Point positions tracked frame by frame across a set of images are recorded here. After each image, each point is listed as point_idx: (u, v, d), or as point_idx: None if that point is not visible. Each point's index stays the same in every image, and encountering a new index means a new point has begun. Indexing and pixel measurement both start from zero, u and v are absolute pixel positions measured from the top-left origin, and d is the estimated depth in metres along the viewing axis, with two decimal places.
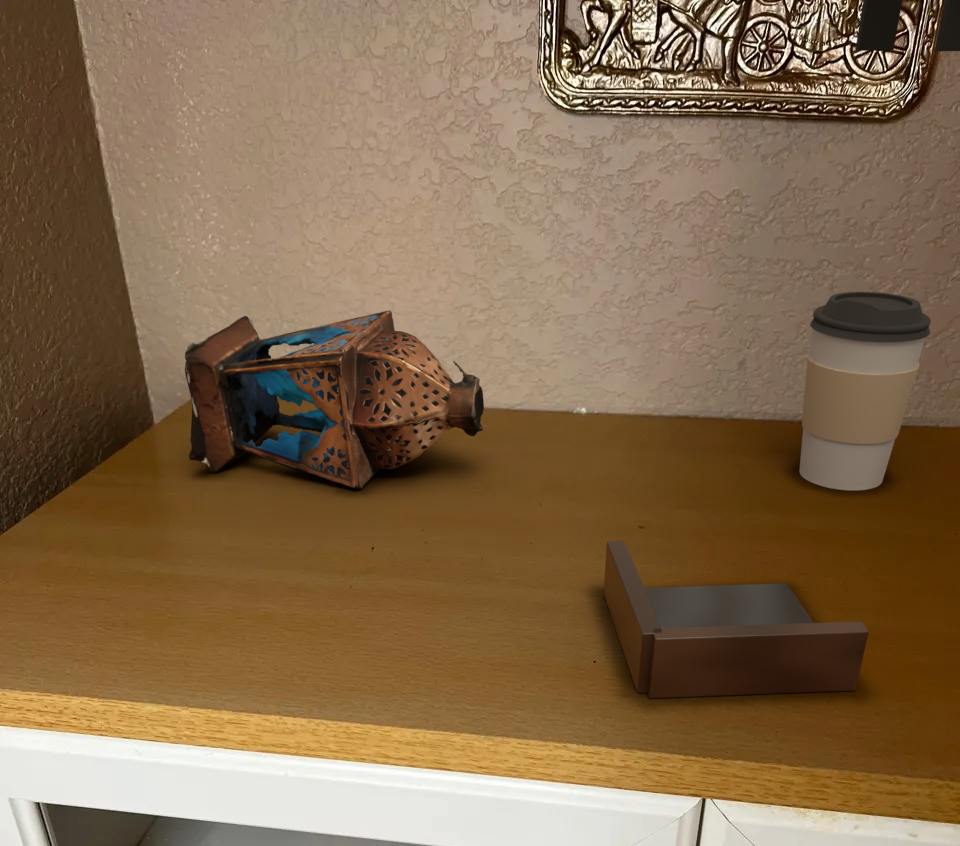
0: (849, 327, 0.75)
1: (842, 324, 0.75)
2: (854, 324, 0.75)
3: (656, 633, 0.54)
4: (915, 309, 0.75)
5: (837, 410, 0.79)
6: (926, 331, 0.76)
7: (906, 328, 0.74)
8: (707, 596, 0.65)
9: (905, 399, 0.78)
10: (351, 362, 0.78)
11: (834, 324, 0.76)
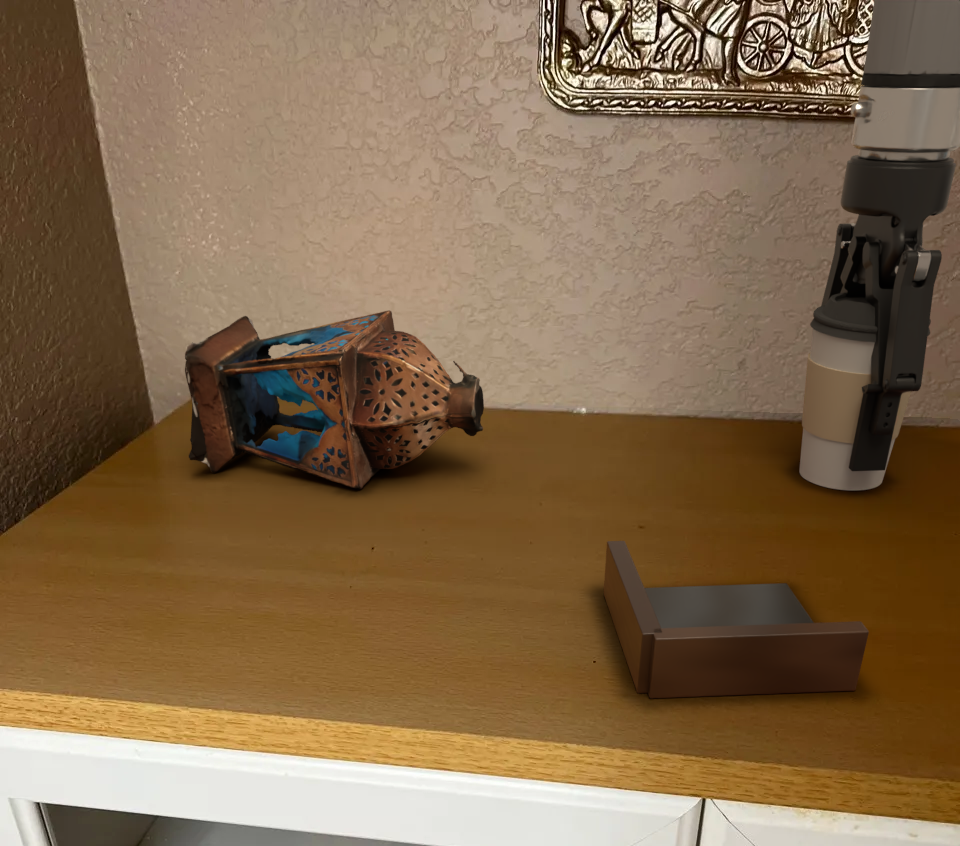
0: (849, 327, 0.75)
1: (842, 324, 0.75)
2: (854, 324, 0.75)
3: (656, 633, 0.54)
4: None
5: (837, 410, 0.79)
6: None
7: None
8: (707, 596, 0.65)
9: (905, 399, 0.78)
10: (351, 362, 0.78)
11: (834, 324, 0.76)
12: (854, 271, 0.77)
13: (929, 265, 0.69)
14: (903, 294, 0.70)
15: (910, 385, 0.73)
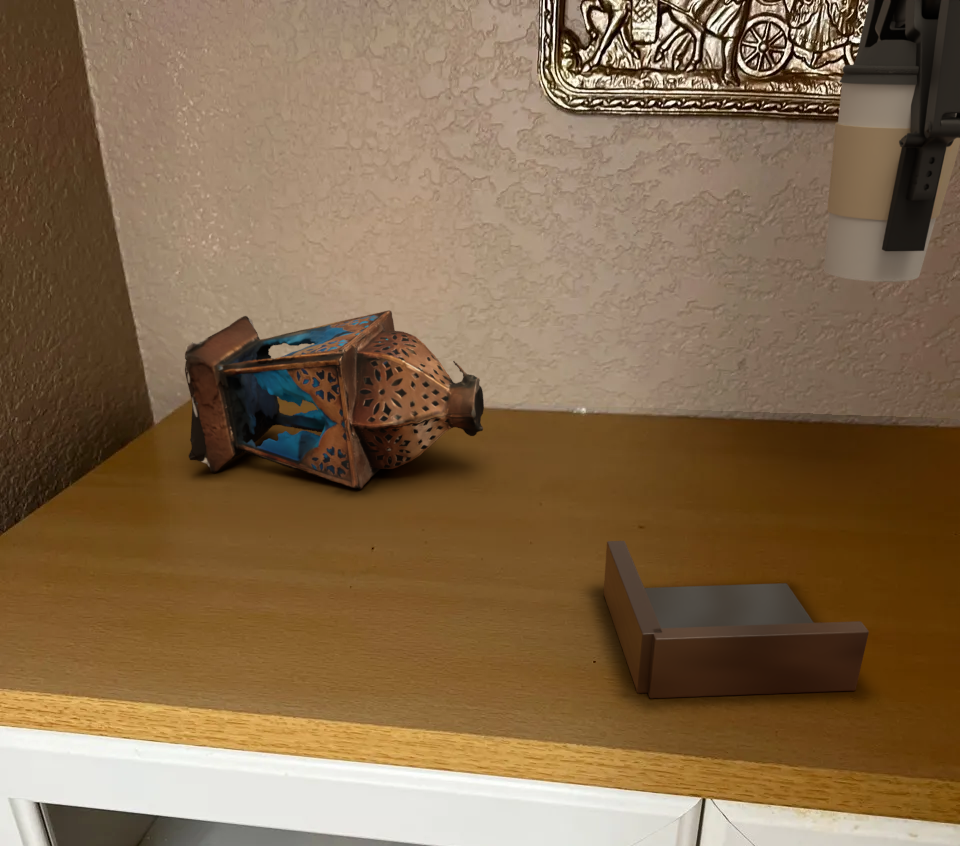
0: (885, 69, 0.64)
1: (877, 67, 0.65)
2: (891, 66, 0.64)
3: (656, 633, 0.54)
4: None
5: (869, 178, 0.68)
6: None
7: None
8: (707, 596, 0.65)
9: (948, 166, 0.68)
10: (351, 362, 0.78)
11: (868, 69, 0.65)
12: (891, 14, 0.67)
13: None
14: (952, 10, 0.60)
15: (957, 128, 0.62)
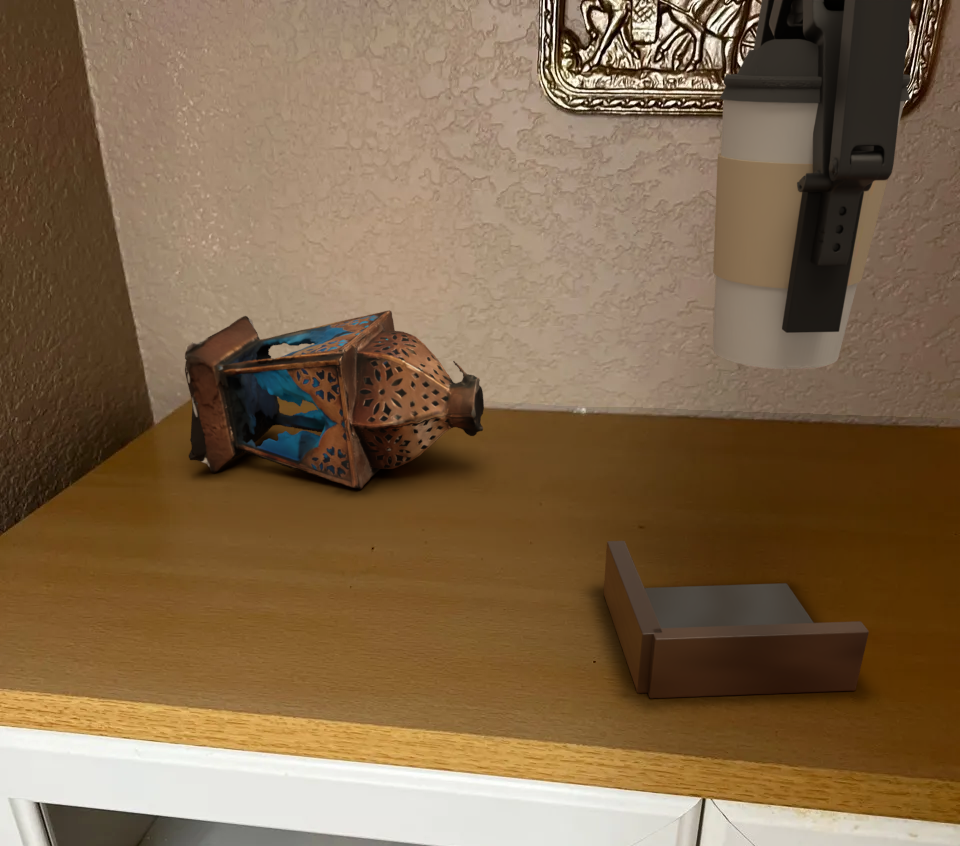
0: (775, 82, 0.45)
1: (765, 79, 0.46)
2: (784, 76, 0.45)
3: (656, 633, 0.54)
4: None
5: (761, 232, 0.49)
6: (903, 92, 0.46)
7: None
8: (707, 596, 0.65)
9: (870, 214, 0.49)
10: (351, 362, 0.78)
11: (752, 81, 0.46)
12: (788, 4, 0.48)
13: None
14: None
15: (875, 167, 0.43)
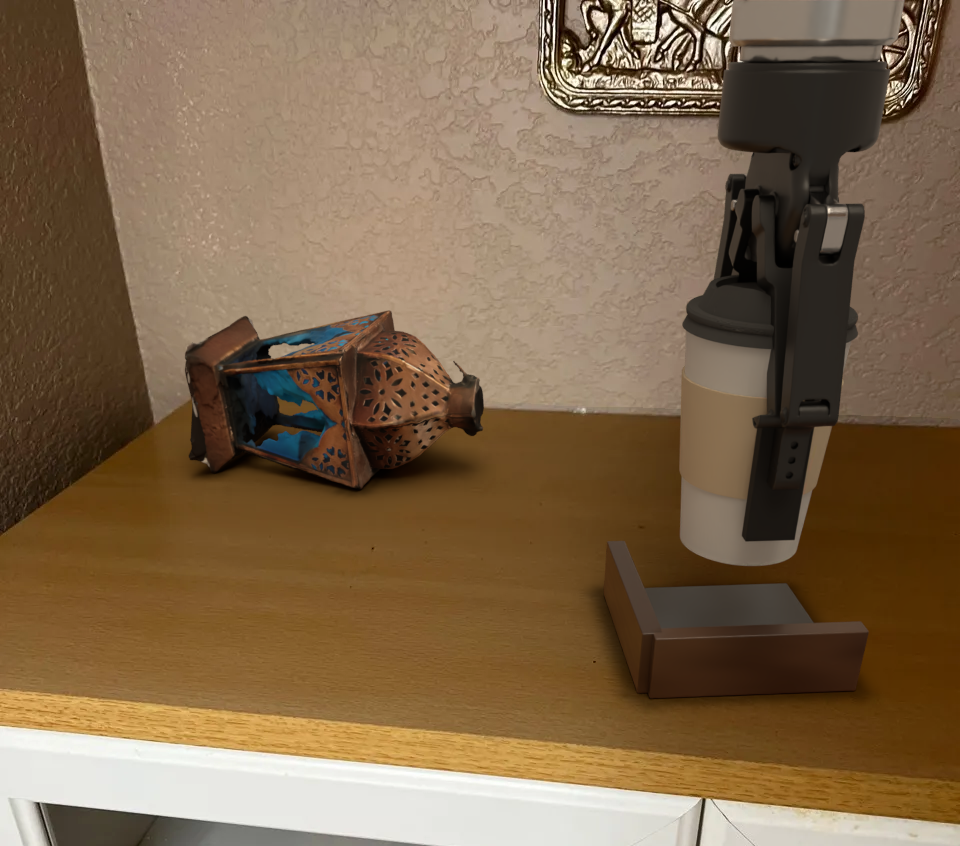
0: (732, 326, 0.49)
1: (722, 322, 0.49)
2: (739, 322, 0.49)
3: (656, 633, 0.54)
4: None
5: (721, 450, 0.53)
6: (850, 333, 0.50)
7: None
8: (707, 596, 0.65)
9: (822, 434, 0.52)
10: (351, 362, 0.78)
11: (711, 322, 0.50)
12: (745, 243, 0.51)
13: (845, 228, 0.43)
14: (806, 274, 0.44)
15: (821, 417, 0.47)
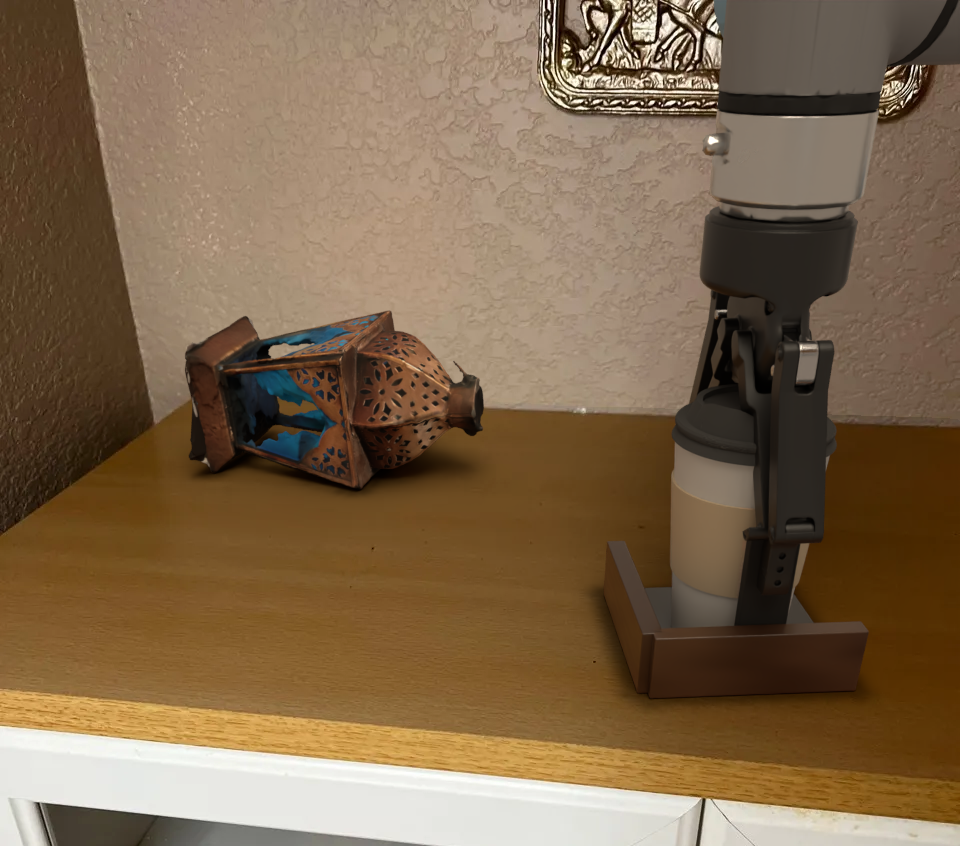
0: (717, 443, 0.52)
1: (708, 438, 0.53)
2: (724, 439, 0.52)
3: (656, 633, 0.54)
4: None
5: (709, 552, 0.56)
6: (829, 447, 0.53)
7: None
8: None
9: None
10: (351, 362, 0.78)
11: (697, 437, 0.53)
12: (725, 361, 0.56)
13: (817, 361, 0.47)
14: (784, 403, 0.48)
15: (807, 534, 0.49)
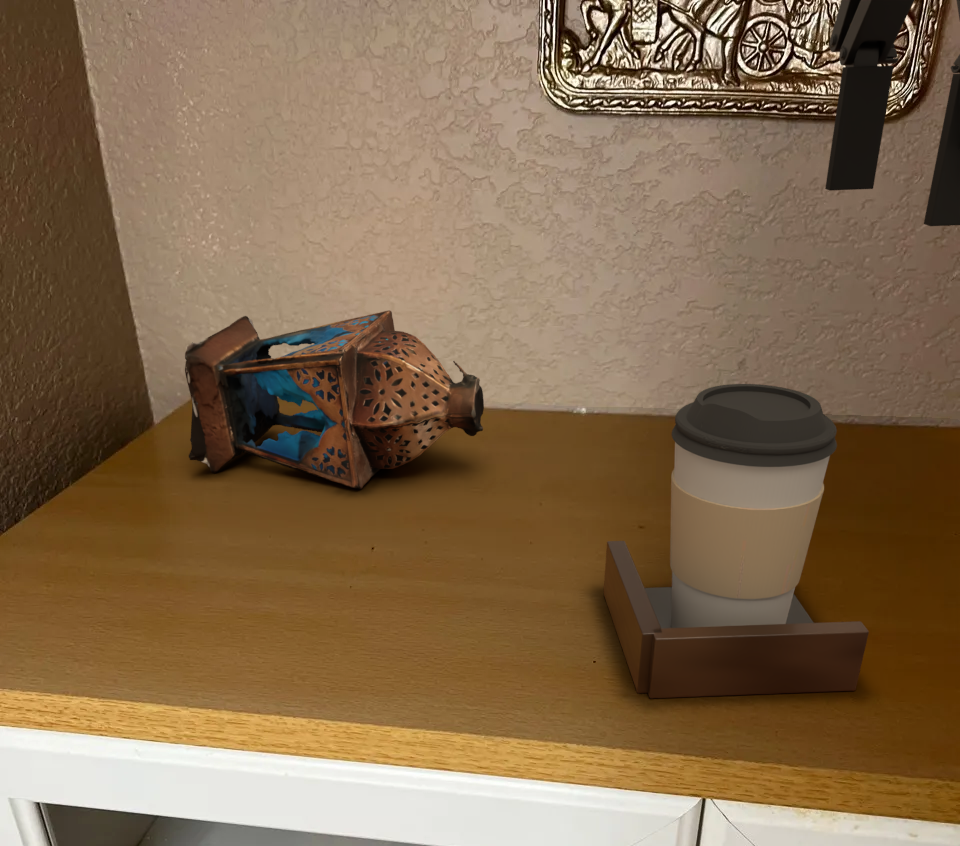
0: (717, 443, 0.52)
1: (708, 438, 0.53)
2: (724, 439, 0.52)
3: (656, 633, 0.54)
4: (812, 417, 0.52)
5: (709, 553, 0.56)
6: (829, 448, 0.53)
7: (797, 446, 0.51)
8: None
9: (804, 538, 0.55)
10: (351, 362, 0.78)
11: (698, 437, 0.53)
12: None
13: None
14: None
15: None
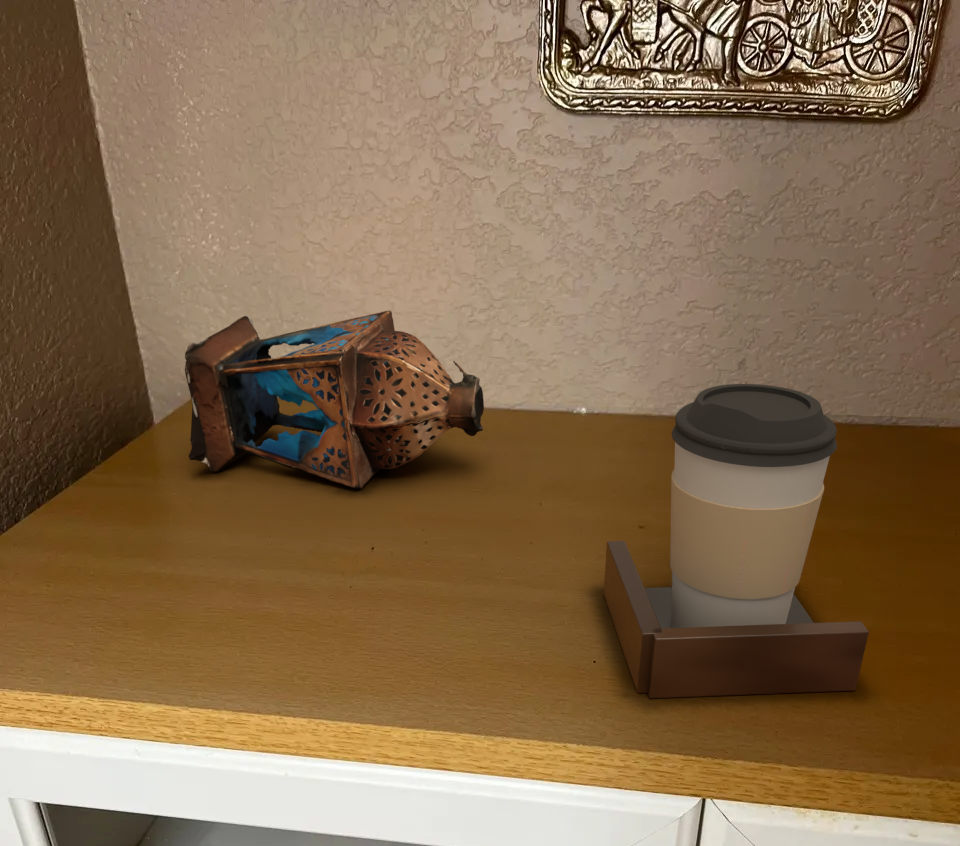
0: (717, 444, 0.52)
1: (708, 438, 0.53)
2: (724, 439, 0.52)
3: (656, 633, 0.54)
4: (812, 417, 0.52)
5: (709, 553, 0.56)
6: (829, 448, 0.53)
7: (797, 446, 0.51)
8: None
9: (804, 538, 0.55)
10: (351, 362, 0.78)
11: (698, 437, 0.53)
12: None
13: None
14: None
15: None
